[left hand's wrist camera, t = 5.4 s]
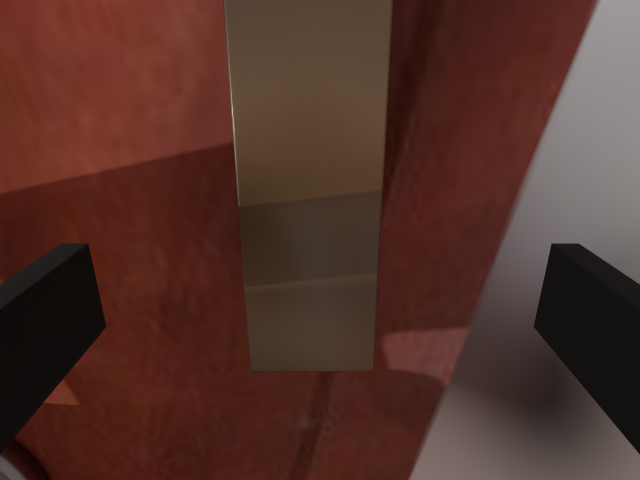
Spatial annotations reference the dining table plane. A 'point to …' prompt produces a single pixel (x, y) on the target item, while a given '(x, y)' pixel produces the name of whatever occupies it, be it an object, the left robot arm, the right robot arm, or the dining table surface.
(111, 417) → the dining table surface
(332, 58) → the bar
